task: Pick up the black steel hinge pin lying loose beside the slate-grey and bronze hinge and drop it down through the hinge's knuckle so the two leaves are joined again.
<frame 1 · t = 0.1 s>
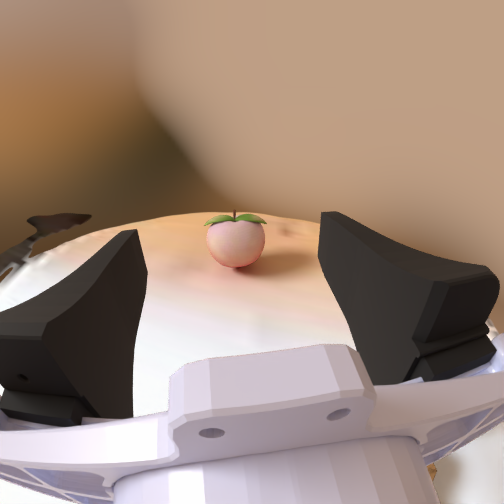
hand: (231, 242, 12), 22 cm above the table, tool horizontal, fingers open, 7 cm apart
decorative fruit: (239, 269, 52), on the table
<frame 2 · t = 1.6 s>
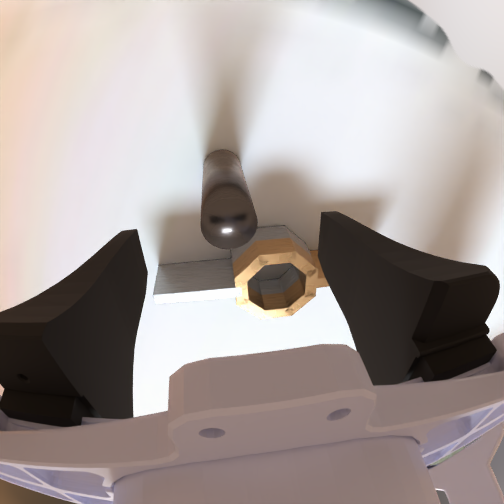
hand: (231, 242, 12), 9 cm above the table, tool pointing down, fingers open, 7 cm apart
hinge: (268, 259, 24), on the table
hinge pin: (221, 167, 20), on the table
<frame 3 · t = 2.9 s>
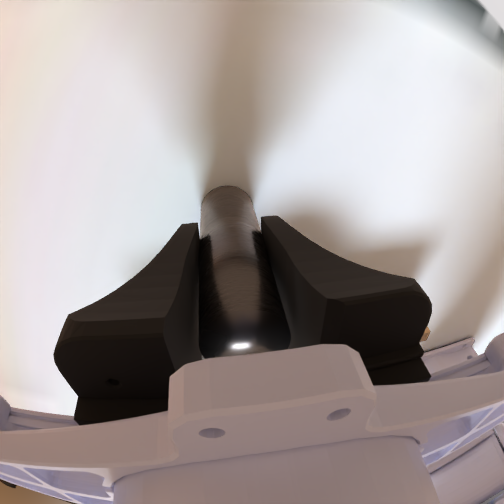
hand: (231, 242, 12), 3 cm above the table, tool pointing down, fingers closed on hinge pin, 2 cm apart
hinge pin: (226, 209, 15), on the table, touching gripper
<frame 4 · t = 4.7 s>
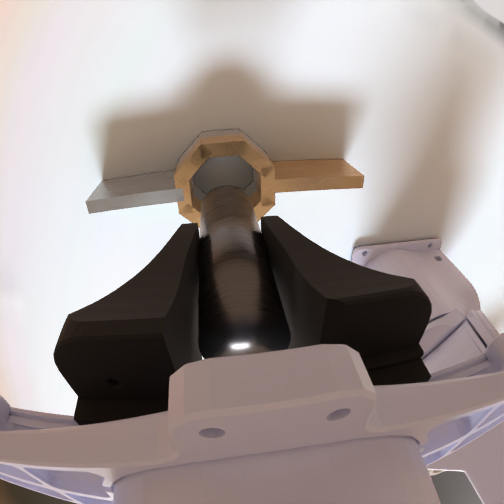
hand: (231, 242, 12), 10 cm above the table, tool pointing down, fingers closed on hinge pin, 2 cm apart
hinge: (223, 170, 21), on the table
hinge pin: (226, 209, 15), point 7 cm above the table, touching gripper
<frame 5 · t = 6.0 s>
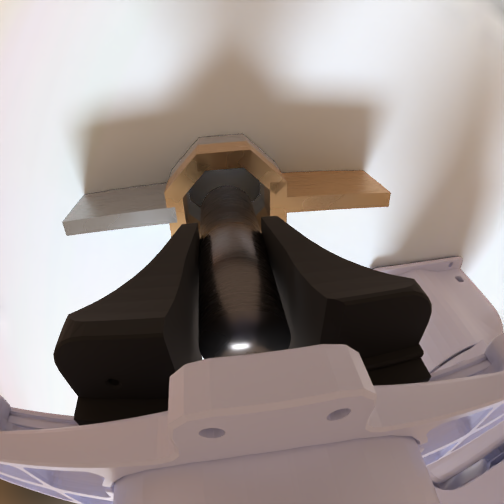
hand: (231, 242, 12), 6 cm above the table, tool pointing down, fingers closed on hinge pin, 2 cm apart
hinge: (224, 183, 18), on the table
hinge pin: (226, 210, 15), point 4 cm above the table, touching gripper
when the fingers open (4 cm above the table, at t = 6.7 s): hinge pin drops 2 cm, resting in hinge.
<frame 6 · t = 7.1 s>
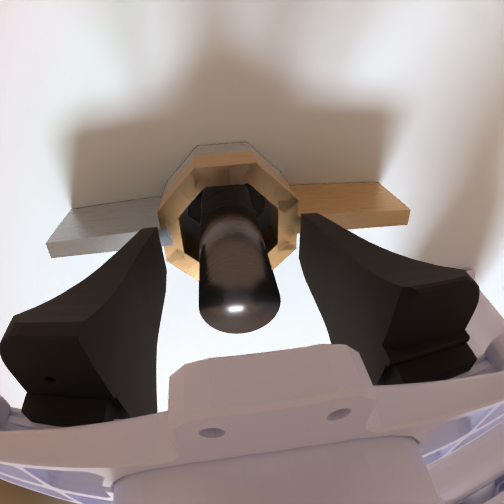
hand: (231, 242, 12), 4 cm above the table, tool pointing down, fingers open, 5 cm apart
hinge: (225, 197, 16), on the table
hinge pin: (225, 197, 16), resting in hinge
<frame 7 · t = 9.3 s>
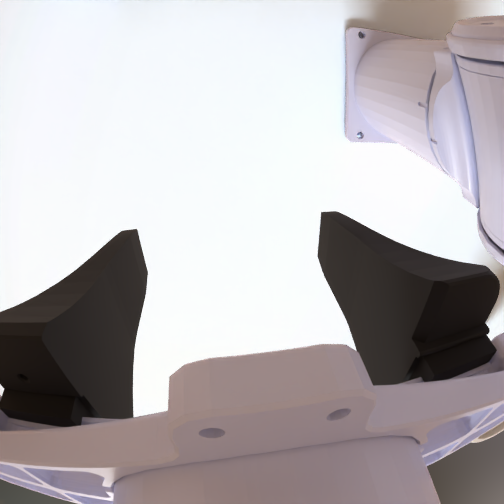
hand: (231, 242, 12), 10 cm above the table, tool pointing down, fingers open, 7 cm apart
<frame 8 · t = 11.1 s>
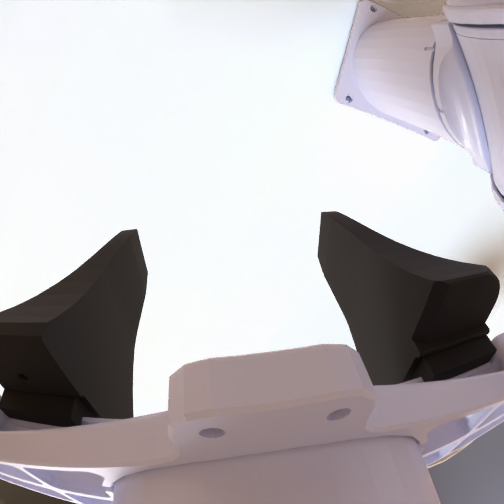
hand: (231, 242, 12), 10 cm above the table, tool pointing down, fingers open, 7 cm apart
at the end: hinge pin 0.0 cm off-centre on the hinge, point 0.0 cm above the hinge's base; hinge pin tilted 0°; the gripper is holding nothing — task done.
